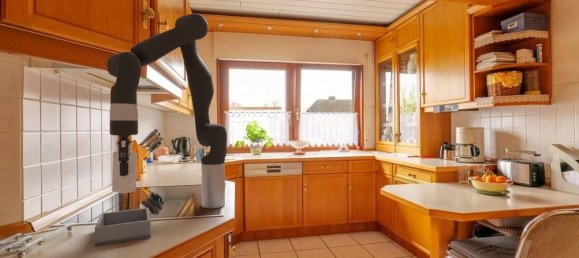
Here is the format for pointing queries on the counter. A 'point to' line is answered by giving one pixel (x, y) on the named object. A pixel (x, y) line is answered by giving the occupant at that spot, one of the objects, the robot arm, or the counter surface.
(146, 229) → the bin
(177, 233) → the counter surface
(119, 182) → the skincare box
